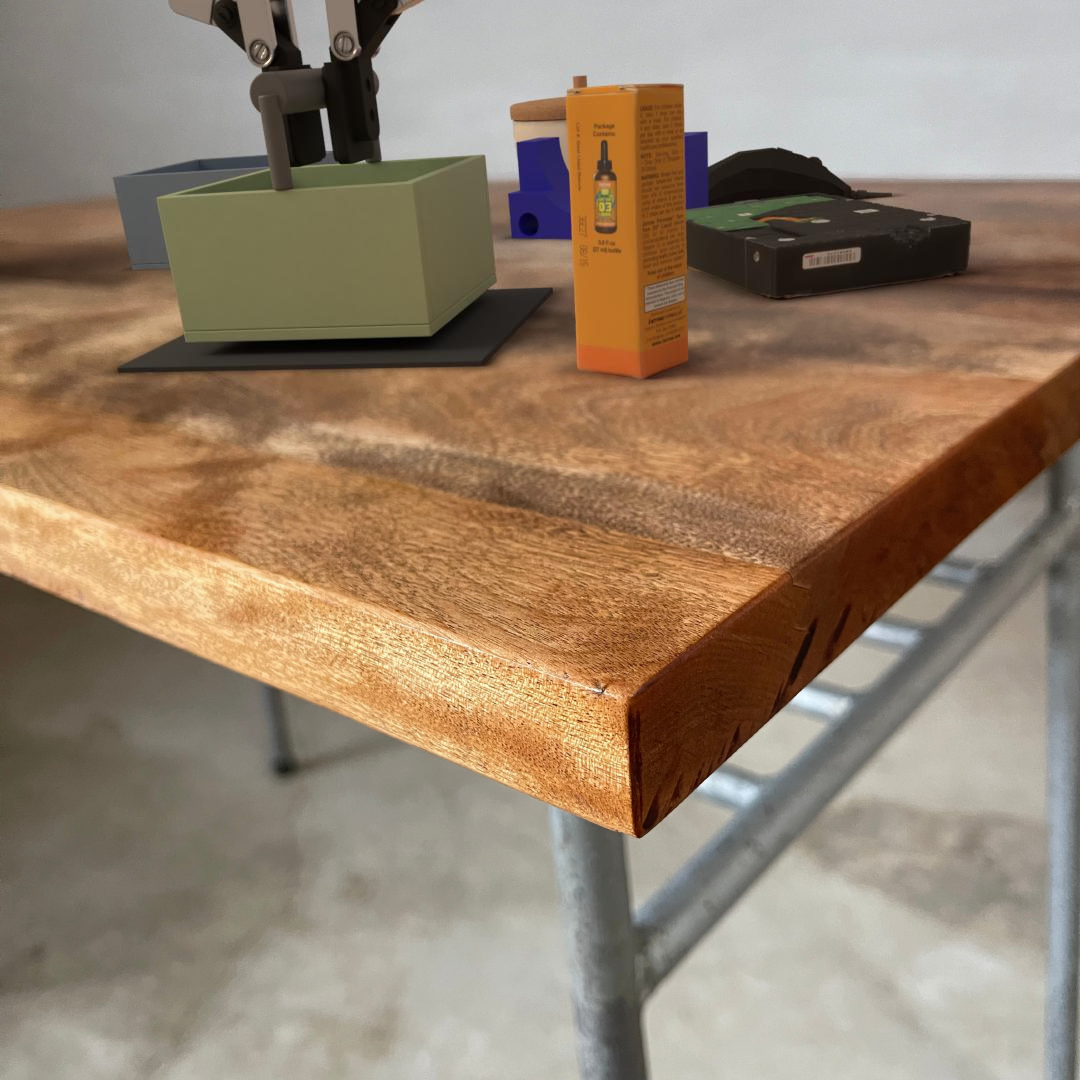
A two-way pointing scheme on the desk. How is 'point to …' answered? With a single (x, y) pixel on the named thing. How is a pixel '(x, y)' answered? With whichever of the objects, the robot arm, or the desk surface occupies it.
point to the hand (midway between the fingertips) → (330, 159)
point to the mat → (361, 344)
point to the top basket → (328, 239)
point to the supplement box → (628, 227)
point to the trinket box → (544, 119)
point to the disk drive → (822, 244)
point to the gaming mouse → (774, 177)
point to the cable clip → (548, 186)
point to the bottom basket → (147, 185)
